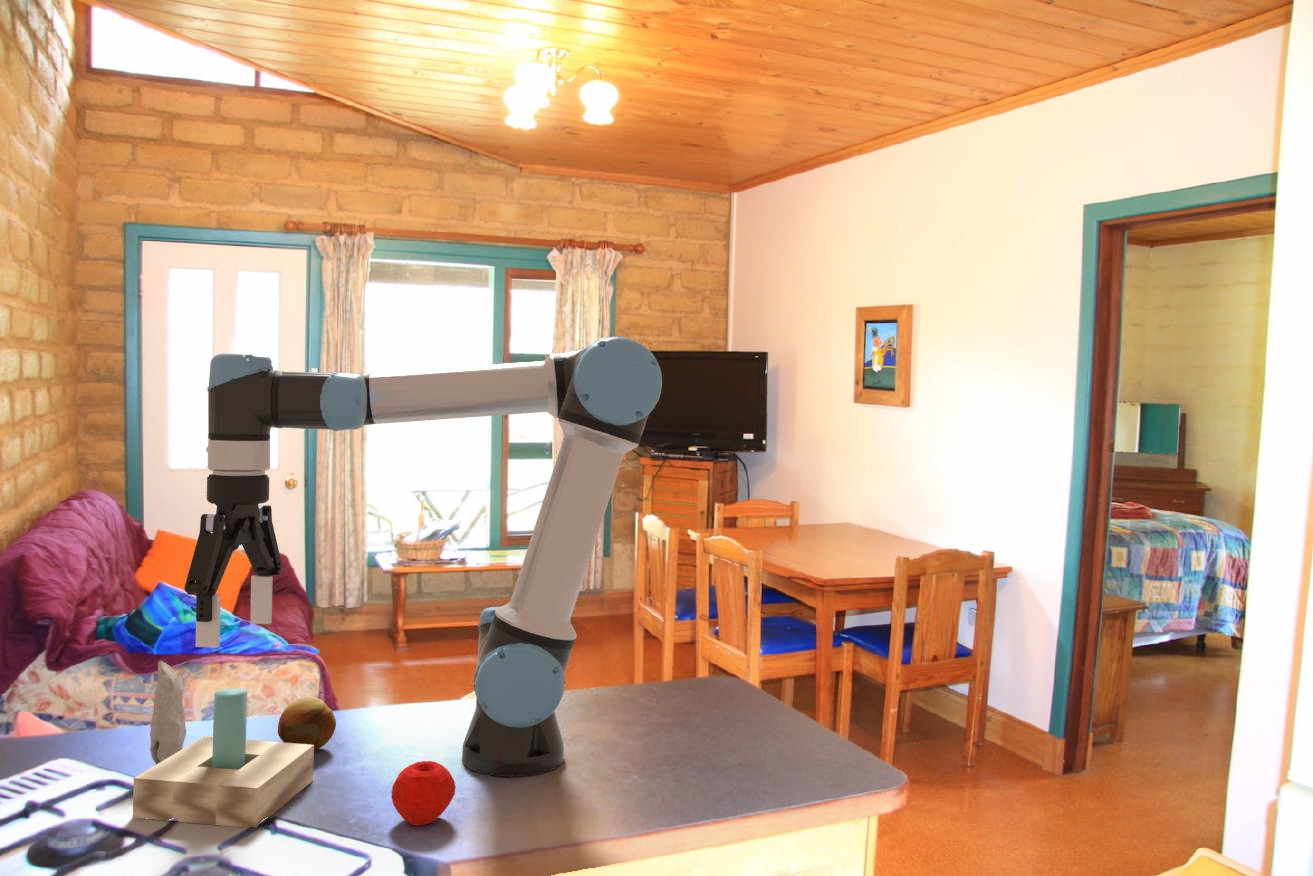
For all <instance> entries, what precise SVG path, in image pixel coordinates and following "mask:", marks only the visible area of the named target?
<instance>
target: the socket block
mask: <svg viewBox="0 0 1313 876" xmlns="http://www.w3.org/2000/svg"><path fill="white" fill-rule="evenodd" d="M212 753H213V736H202V737H201V738H199V739H197V740H195V741H193V742H192V743H191V744H189V745H186V746H185V747H183V748H182V750H180V751H179V752H177V753H175V754H174V755H172V756H170V757H168V758H167V759H165V760H163V761H162V762H160V763H158V764H157V765H156V764H155V765H153V766H152V767H150V768H148V769H147V770H145V771H143V772H141V773H140V774H138V775H136V776H135V777H134V778H133V791H132V793H133V795H132V819H140V818H142V819H141V820H151V819H155V820H154V821H163V820H169V819H172V818H177V819H178V821H179V822H178V823H186V824H187V823H189V824H201V825H213V826H223V827H225V826H226V827H234V828H235V827H237V828H245V829H247V828H248V829H250V828H249V827H256V826H257V825H258V824H259V823H260V822H261V821H262V820H263V819H265V818H267V817H269V816H270V817H271V816H273V815H274V814H275V813H277V812H278V811H279V810H280V809H281V808H282V807H283V806H284V805H286V804H287V803H288V802H290V800H291V799H294V797H295V796H296V795H297V794H299V793H300V792H301V791H302V790H304V788H306V787H307V786H308V785H309V784H311V783H312V782H313V781H314V762H315V761H314V758H315V755H314V753H315V751H314V745H309V744H296V743H283V741H282V742H281V741H279V742H278V741H267V740H255V739H246V753H245V766H243V767H242V768H240V769H239V770H235V769H222V768H212ZM270 817H269V818H270ZM143 818H145V819H143ZM146 818H147V819H146Z"/></svg>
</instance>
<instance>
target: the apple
mask: <svg viewBox="0 0 1313 876" xmlns="http://www.w3.org/2000/svg"><path fill="white" fill-rule="evenodd" d="M456 789H457V787H456V782H455V780H454V777H453V775H452V774H451V772H450V771H449V770H448V769H447V768H446V766H444V765H443V764H441V763H438V762H436V761H431V760H423V761H417V762H415V763H412V764H409V765H408V766H406V767H405V768H403V769H402V770H401V771H400V772H399V773H398V775H397V777H396V779H395V780H394V783H393V785H392V787H391V801H392V804H393V807H394V808H395V811H396V812H397V813H398V814H399V816H400V817H401V818H402V819H403V820H404V821H405V822H406V823H407V824H410V825H412V826H423V825H427V824H430V823H432V822H434V821H436V820H437V819H438V818H439V817H441V815H442V814H443V813H444V812H445V811H446V809H447V808H448V807H449V805H450V804H451V802H452V800H453V798H454V797H455V794H456Z"/></svg>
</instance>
